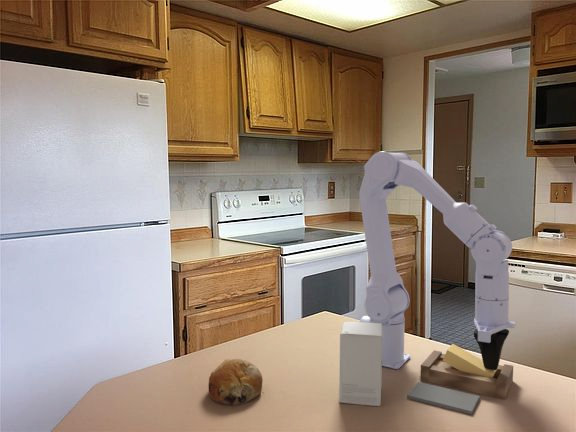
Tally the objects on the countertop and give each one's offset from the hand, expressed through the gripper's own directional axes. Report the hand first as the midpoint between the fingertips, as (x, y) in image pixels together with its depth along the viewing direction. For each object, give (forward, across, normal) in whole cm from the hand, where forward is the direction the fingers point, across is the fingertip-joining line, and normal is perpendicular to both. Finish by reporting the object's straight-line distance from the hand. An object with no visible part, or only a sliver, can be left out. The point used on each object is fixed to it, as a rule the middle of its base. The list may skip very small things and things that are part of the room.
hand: (491, 368), depth 92 cm
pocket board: (+3, 0, +4) cm, 5 cm away
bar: (+1, 0, +4) cm, 4 cm away
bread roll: (+3, -28, +39) cm, 48 cm away
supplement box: (+3, -16, +19) cm, 26 cm away
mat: (+3, -10, +6) cm, 12 cm away
